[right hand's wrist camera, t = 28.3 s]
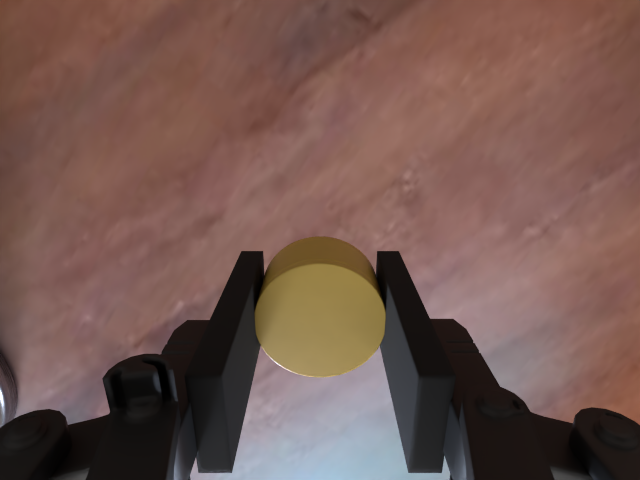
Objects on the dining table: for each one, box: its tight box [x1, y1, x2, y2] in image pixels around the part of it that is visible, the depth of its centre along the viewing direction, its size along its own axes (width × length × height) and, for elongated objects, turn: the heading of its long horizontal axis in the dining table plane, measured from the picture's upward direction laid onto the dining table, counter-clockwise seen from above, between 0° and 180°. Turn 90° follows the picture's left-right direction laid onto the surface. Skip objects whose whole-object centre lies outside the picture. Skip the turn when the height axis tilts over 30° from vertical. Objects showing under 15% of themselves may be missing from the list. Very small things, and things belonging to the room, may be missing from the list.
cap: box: [255, 237, 386, 377], centre depth 14 cm, size 4×4×2 cm
